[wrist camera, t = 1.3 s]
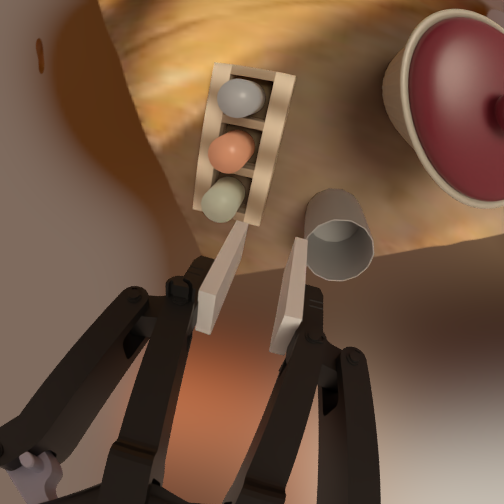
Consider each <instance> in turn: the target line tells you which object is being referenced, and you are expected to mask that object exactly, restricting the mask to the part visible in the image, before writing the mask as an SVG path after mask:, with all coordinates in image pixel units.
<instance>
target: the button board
mask: <svg viewBox="0 0 504 504" xmlns="http://www.w3.org/2000/svg"><path fill="white" fill-rule="evenodd" d="M236 75H237V76H244V77H250V78H256V79H261V80H266V81H271V82H274V84H273V88H272V93H271V97H270V102H269V106H268V111H267V115H266V119H265V120H264V119H260V118H255V117H250V116H245V117H242V118H233V117H230V116H228V115H226V114H225V113H223V112H222V111H221V109H220V108H219V105H218V102H217V95H218V92H219V89H220V88H221V86H222V85H223V84H224V83H226V82H227V81H229V80H232V79H236ZM296 78H297V77H296V76H293V75H289V74H284V73H280V72H275V71H270V70H265V69H259V68H253V67H247V66H240V65H233V64H225V63H215V62H214V67H213V72H212V78H211V83H210V88H209V94H208V99H207V105H206V111H205V117H204V124H203V130H202V137H201V144H200V151H199V158H198V166H197V174H196V182H195V191H194V200H193V209H195V210H199V211H202V207H201V201H202V198H203V196H204V194H205V193H206V192H207V191H208V190H209V189H210V188H211V187H212V186H213V185H214V184H215V183H216V182H217V180H218V174H219V171H218V170H216V169H215V168H214V167H213V166H212V165H211V163H210V161H209V158H208V149H209V146H210V144H211V143H212V142H213V141H214V140H215V139H216V138H218V137H220V136H222V135H224V134H225V132H226V127H227V123H228V124H233V125H238V126H243V127H248V128H253V129H257V130H261V131H263V133H262V137H261V142H260V147H259V151H258V156H257V160H256V164H253V163H249V162H246V163H245V164H244V166H243V167H242V168H241V169H240V170H238V171H236V172H234V173H233V174H237V175H241V176H245V177H249V178H253V179H252V184H251V188H250V193H249V198H248V202H247V205H245V204H241V205H240V207H239V208H238V210H237V212H236V213H235V215H234V217H233V218H232V219H233V220H237V221H241V222H245V223H249V224H252V225H255V226H260V223H261V220H262V218H263V214H264V210H265V206H266V202H267V198H268V194H269V189H270V185H271V181H272V177H273V173H274V169H275V165H276V161H277V157H278V153H279V148H280V144H281V140H282V136H283V132H284V128H285V124H286V120H287V116H288V111H289V107H290V103H291V99H292V95H293V91H294V87H295V83H296Z"/></svg>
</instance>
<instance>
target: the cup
mask: <svg viewBox="0 0 504 504" xmlns="http://www.w3.org/2000/svg"><path fill="white" fill-rule="evenodd" d="M304 239H306V240H308V245H307V263H306V265H307V266H308V267H309V268H310V269H311V271H312V272H313V273H314V274H315V275H317V276H320V277H322V278H324V279H326V280H329V281H345V280H348V279H351V278H354V277H357V276H358V275H359V274H361V273H362V272H363V271H364V270H365V269H367V268H368V266H369V264H370V262H371V260H372V258H373V256H374V244H373V238H372V235H371V232H370V230H369V227H368V224H367V221H366V219H365V216H364V213H363V211H362V208H361V206H360V204H359V203H358V201H357V200H356V198H355V197H354V195H352V194H350V193H348V192H346V191H345V190H343V189H327V190H324V191H322V192H319V193H317V194H316V195H315V196H314V197H313V198H312V199H311V200H310V202H309V203H308V206H307V210H306V214H305V227H304Z"/></svg>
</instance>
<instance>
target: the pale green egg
mask: <svg viewBox="0 0 504 504" xmlns="http://www.w3.org/2000/svg"><path fill="white" fill-rule="evenodd" d="M244 198H245V188H244V186H243V184H242V183H241V182H240V181H239V180H238V179H236V178H234V177H223V178H221V179H219V180H218V181H217V182H216V183H215V184H214V185H213V186H212V187H211V188H210V189H209V190H208V191H207V192H206V193H205V194H204V196H203V198H202V201H201V207H202V211H203V213H204V214H205V215H206V217H207V218H209V219H210V220H212V221H214V222H218V223H224V222H227V221H229V220H231V219H232V218H233V217H234V215H235V213H236V212H237V210H238V208H239V207H240V205H241V203H242V202H243V200H244Z"/></svg>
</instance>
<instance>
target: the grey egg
mask: <svg viewBox="0 0 504 504" xmlns="http://www.w3.org/2000/svg"><path fill="white" fill-rule="evenodd" d="M265 100H266V95H265V92H264V90H263V88H262V87H261V86H260V85H259V84H258V83H256V82H253V81H249V80H244V79H232V80H229V81H227V82H226V83H224V84H223V85H222V86H221V88H220V89H219V92H218V95H217V102H218V105H219V108H220V109H221V111H222V112H223V113H225V114H226V115H228V116H230V117H233V118H242V117H245V116H248V115H251V114H254V113H256V112H258V111H259V110H261V109H262V107H263V106H264V104H265Z"/></svg>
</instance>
